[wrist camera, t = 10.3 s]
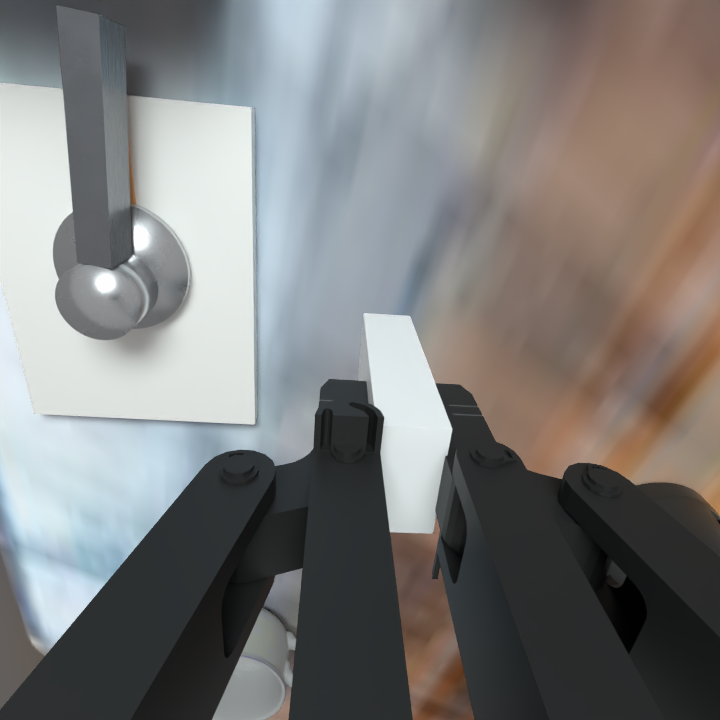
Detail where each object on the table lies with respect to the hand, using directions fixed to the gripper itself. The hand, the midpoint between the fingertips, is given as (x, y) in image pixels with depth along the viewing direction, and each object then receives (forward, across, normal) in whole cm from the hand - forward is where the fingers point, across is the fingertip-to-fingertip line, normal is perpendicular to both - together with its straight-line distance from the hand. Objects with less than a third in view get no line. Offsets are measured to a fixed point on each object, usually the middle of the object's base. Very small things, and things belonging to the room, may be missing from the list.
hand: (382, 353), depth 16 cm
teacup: (+23, -8, -44) cm, 50 cm away
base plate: (+21, -17, -4) cm, 28 cm away
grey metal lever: (+19, -16, +2) cm, 25 cm away
